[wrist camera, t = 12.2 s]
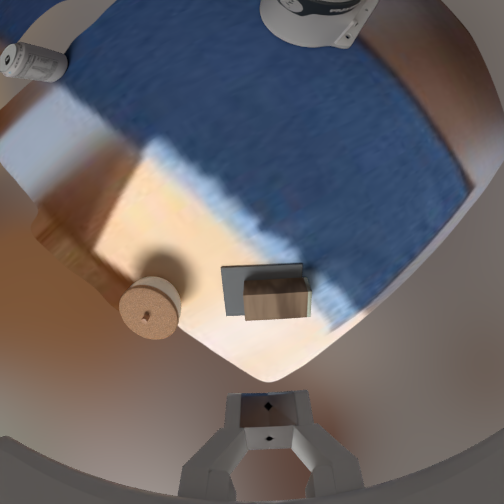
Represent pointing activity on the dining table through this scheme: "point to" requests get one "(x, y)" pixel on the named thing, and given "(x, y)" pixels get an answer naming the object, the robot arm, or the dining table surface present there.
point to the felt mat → (237, 276)
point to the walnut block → (277, 299)
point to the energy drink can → (32, 62)
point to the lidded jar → (151, 307)
